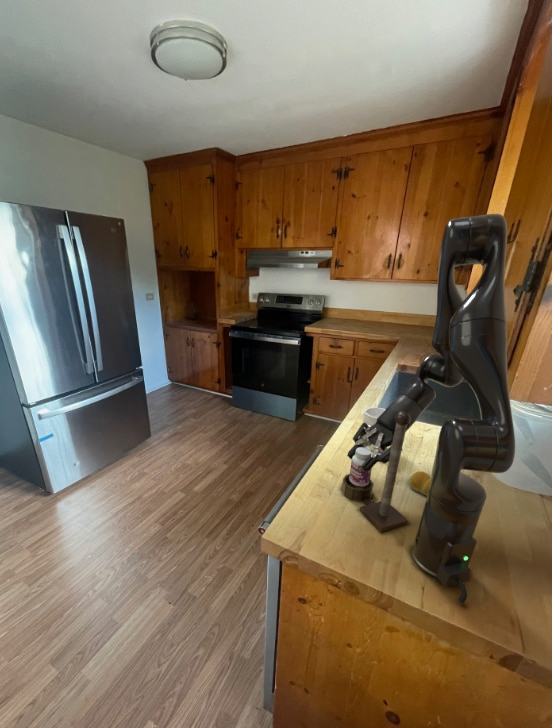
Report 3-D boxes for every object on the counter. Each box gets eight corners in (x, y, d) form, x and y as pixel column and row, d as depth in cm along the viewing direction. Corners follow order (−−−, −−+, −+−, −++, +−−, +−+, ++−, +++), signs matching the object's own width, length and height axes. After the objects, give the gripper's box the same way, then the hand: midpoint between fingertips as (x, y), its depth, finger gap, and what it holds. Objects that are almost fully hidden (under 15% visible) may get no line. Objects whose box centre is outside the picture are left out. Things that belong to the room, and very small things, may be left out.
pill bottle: (346, 483, 89) (350, 452, 86) (351, 473, 94) (355, 443, 90) (366, 489, 87) (371, 458, 83) (371, 479, 91) (376, 449, 88)
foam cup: (353, 442, 118) (358, 409, 113) (375, 438, 121) (381, 406, 116) (369, 455, 110) (375, 420, 105) (392, 451, 112) (399, 417, 107)
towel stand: (407, 523, 81) (433, 417, 70) (380, 532, 78) (403, 422, 67) (359, 481, 97) (374, 388, 86) (336, 486, 94) (348, 392, 83)
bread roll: (436, 502, 88) (439, 490, 87) (403, 486, 94) (406, 474, 93) (448, 489, 93) (451, 477, 92) (416, 475, 99) (419, 464, 98)
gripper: (374, 398, 91) (333, 443, 92) (414, 419, 79) (367, 471, 79) (386, 413, 95) (347, 456, 95) (427, 435, 82) (381, 485, 83)
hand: (356, 463), depth 87 cm, fingers closed on pill bottle, 5 cm apart
